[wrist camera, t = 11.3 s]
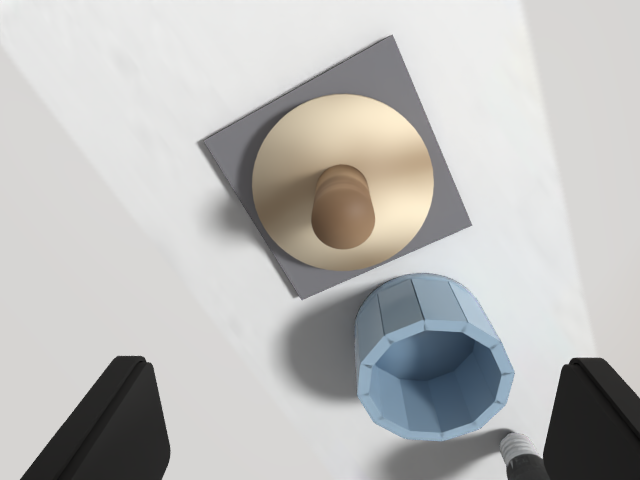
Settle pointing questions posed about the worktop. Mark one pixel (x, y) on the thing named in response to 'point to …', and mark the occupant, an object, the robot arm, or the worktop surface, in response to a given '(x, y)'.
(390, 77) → the mat
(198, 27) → the worktop surface
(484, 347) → the bowl
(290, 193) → the lid
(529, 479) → the light bulb
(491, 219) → the worktop surface
